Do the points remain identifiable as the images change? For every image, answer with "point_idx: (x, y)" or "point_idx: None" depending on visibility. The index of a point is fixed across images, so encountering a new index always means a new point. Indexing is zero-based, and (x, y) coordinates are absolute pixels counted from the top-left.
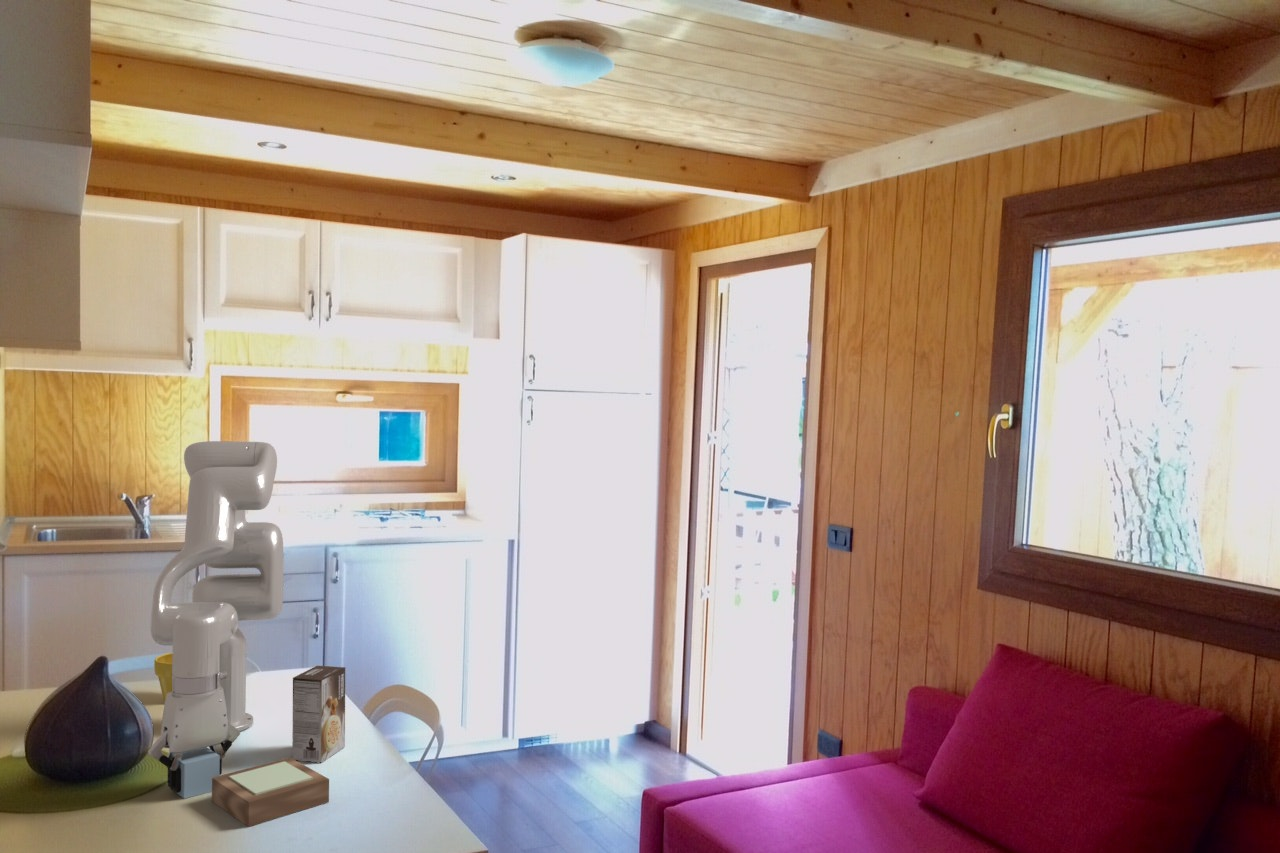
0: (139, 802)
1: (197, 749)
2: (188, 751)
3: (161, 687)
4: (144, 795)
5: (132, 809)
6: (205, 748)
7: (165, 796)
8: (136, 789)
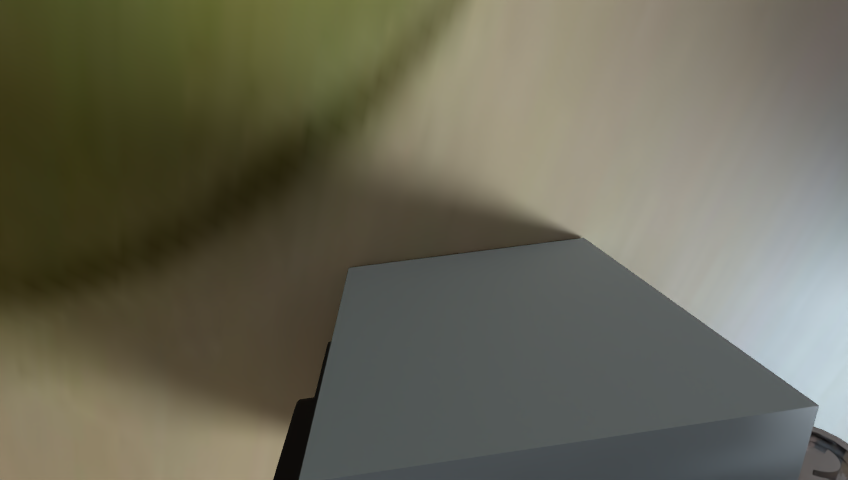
0: (138, 375)
1: (680, 458)
2: (552, 476)
3: None
4: (174, 283)
5: (96, 447)
6: (772, 469)
7: (297, 366)
8: (120, 132)
